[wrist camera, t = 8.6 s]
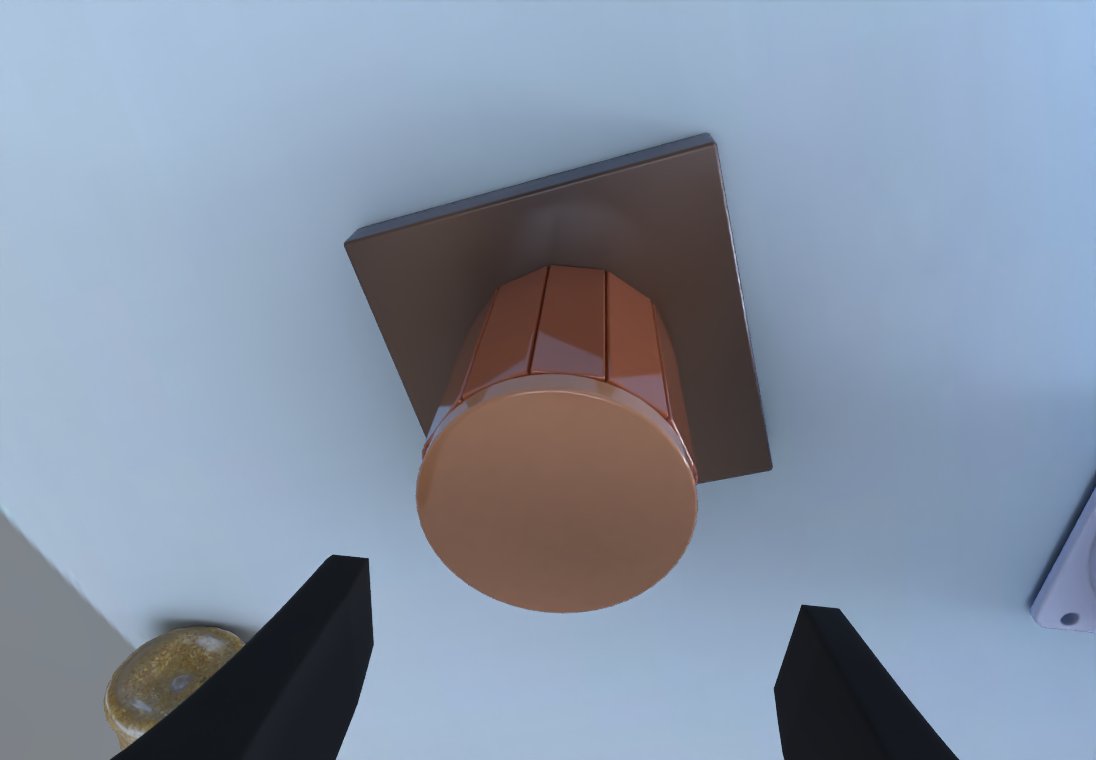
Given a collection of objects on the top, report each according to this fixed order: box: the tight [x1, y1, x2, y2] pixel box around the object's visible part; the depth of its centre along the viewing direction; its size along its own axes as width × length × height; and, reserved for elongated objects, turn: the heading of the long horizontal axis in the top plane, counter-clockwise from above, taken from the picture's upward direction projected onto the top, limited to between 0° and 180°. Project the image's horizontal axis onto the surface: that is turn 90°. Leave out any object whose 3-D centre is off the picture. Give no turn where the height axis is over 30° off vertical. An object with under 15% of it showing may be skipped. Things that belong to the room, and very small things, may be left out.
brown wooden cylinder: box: [416, 265, 698, 613], centre depth 16 cm, size 5×5×6 cm
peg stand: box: [344, 133, 773, 484], centre depth 17 cm, size 9×9×6 cm
